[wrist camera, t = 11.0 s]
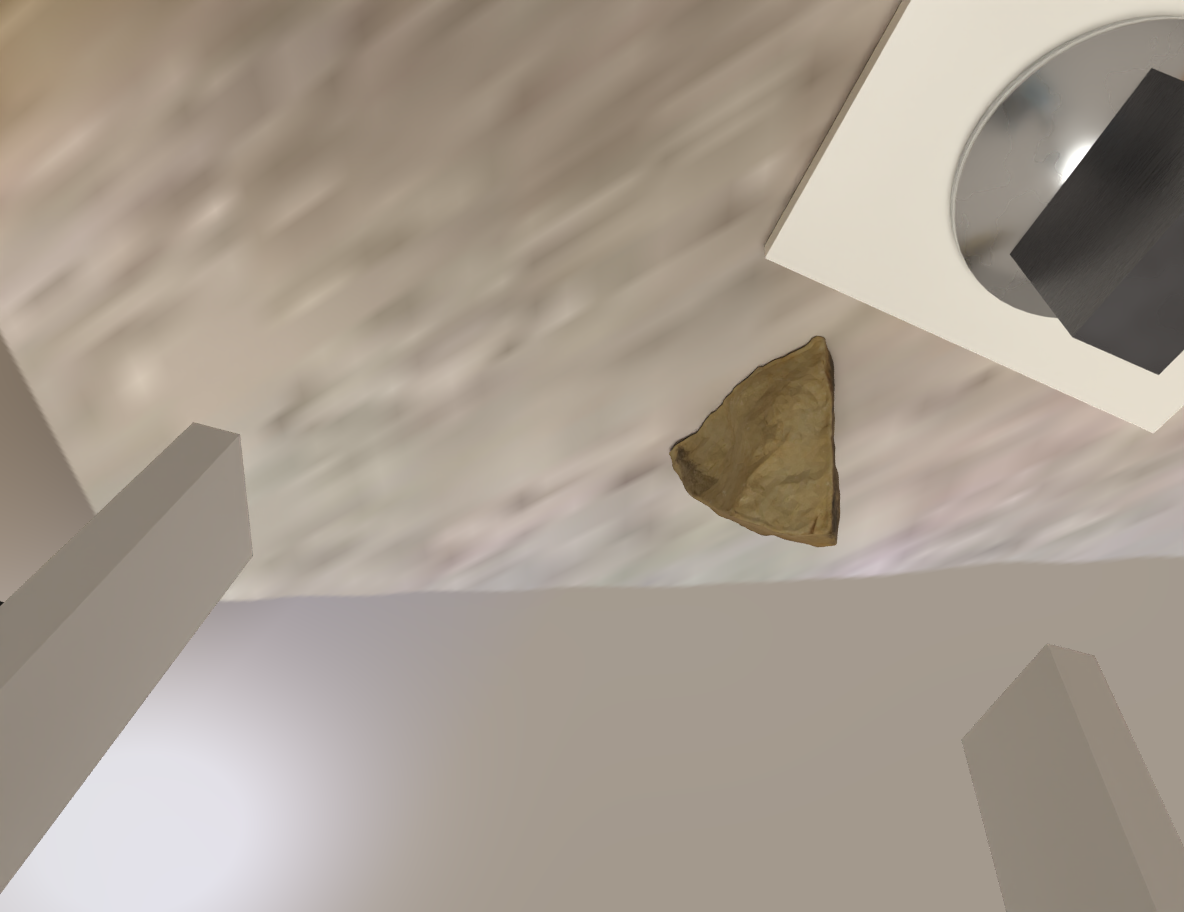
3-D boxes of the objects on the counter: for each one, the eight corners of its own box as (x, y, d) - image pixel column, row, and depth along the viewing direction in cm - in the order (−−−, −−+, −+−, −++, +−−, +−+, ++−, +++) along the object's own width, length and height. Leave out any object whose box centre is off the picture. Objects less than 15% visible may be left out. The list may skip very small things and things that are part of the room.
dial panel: (764, 246, 38) (765, 258, 36) (1014, -201, 27) (1028, -205, 26) (1141, 417, 40) (1154, 434, 39) (1512, 65, 29) (1547, 73, 28)
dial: (1119, 347, 36) (1212, 458, 29) (894, 248, 35) (933, 338, 28) (1356, 93, 29) (1558, 156, 22) (1084, -40, 28) (1201, -19, 21)
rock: (677, 535, 47) (849, 536, 43) (632, 548, 39) (837, 551, 35) (673, 359, 47) (843, 345, 43) (627, 336, 39) (830, 317, 35)
